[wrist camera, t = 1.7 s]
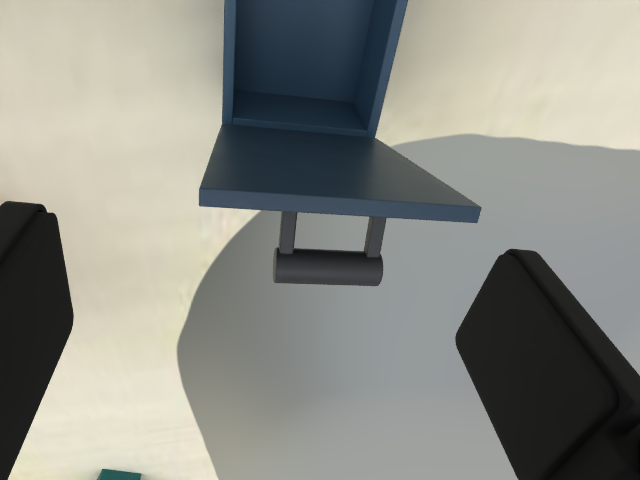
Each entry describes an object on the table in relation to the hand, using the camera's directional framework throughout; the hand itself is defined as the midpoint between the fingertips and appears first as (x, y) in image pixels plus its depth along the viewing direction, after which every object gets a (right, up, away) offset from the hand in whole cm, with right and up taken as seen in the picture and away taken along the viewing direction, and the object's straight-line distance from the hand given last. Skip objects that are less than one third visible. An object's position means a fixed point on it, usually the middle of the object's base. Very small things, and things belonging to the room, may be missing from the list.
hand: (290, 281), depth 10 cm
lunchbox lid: (+1, +6, +18) cm, 19 cm away
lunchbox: (0, +21, +27) cm, 34 cm away
